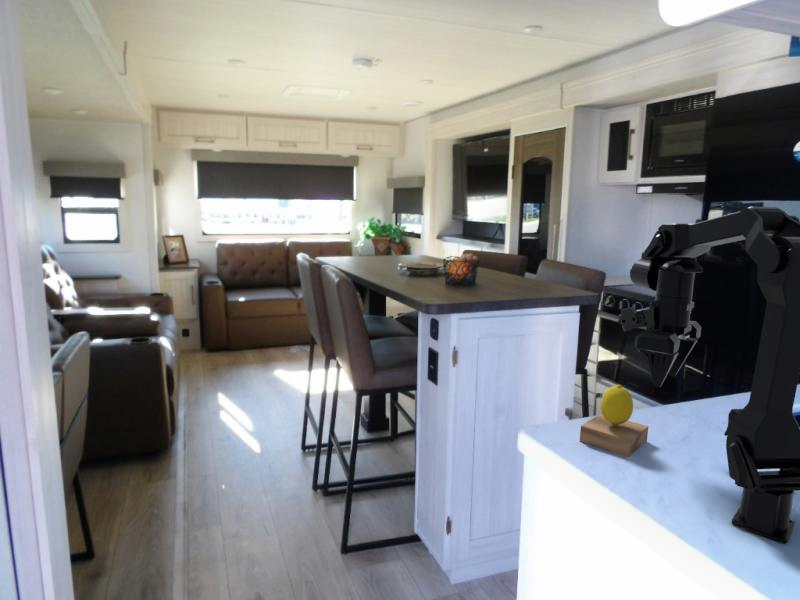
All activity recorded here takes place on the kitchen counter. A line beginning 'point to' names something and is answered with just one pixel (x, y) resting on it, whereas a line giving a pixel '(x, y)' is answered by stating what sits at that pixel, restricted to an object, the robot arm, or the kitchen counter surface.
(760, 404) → the robot arm
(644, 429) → the walnut block
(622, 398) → the lemon
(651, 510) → the kitchen counter surface
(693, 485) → the kitchen counter surface
